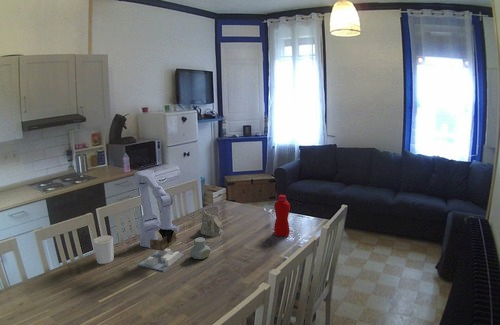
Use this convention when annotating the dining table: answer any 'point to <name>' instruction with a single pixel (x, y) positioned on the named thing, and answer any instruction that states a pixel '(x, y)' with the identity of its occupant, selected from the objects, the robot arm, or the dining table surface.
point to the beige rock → (211, 225)
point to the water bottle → (282, 216)
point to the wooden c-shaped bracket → (162, 243)
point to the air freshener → (199, 249)
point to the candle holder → (104, 249)
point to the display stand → (161, 260)
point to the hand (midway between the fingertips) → (167, 242)
